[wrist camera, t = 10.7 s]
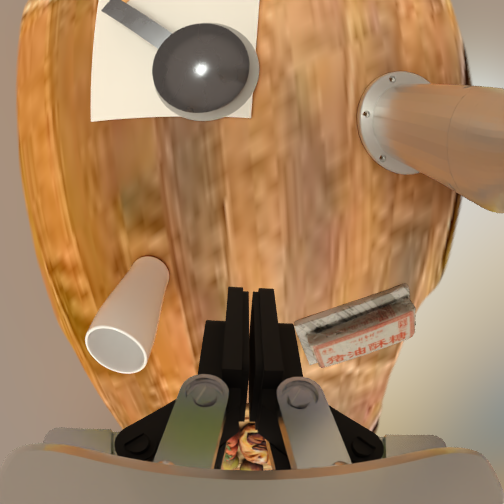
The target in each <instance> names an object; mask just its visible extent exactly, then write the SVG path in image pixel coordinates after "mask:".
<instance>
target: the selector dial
mask: <svg viewBox="0 0 504 504" xmlns="http://www.w3.org/2000/svg"><path fill="white" fill-rule="evenodd" d="M101 11H102V12H104V13H106V14H107V15H109V16H110V17H112V18H113V19H115V20H117V21H118V22H120V23H121V24H123V25H124V26H126V27H127V28H129V29H130V30H132V31H133V32H135V33H136V34H138V35H139V36H140V37H142V38H143V39H145V40H146V41H148V42H149V43H150V44H152V45H153V46H155V47H156V48H157V49H158V50H157V53H156V55H155V57H154V61H153V66H152V76H153V81H154V85H155V87H156V89H157V91H158V93H159V94H160V96H161V97H162V98H163V99H164V100H165V101H166V102H167V103H168V104H170V105H171V106H173V107H175V108H177V109H179V110H182V111H185V112H190V113H205V112H210V111H214V110H217V109H220V108H223V107H225V106H227V105H228V104H230V103H231V102H233V101H234V100H235V99H236V98H237V97H238V96H239V95H240V94H241V92H242V91H243V89H244V87H245V85H246V83H247V80H248V76H249V64H250V63H249V56H248V52H247V50H246V48H245V46H244V44H243V42H242V41H241V40H240V39H239V37H238V36H237V35H235V34H234V33H233V32H232V31H230V30H228V29H226V28H224V27H222V26H219V25H215V24H210V23H198V24H192V25H189V26H185V27H183V28H181V29H179V30H177V31H175V32H174V33H171V32H169V31H168V30H167V29H165V28H164V27H162V26H161V25H159V24H158V23H156V22H155V21H153V20H152V19H150V18H149V17H147V16H146V15H144V14H143V13H141V12H140V11H138V10H136V9H135V8H133V7H132V6H130V5H128V4H127V3H125V2H123V1H122V0H110V1H109V2H108V3H107V4H106V5H105V7H104V8H103V9H102V10H101Z"/></svg>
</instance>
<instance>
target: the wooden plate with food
mask: <svg viewBox="0 0 504 504" xmlns="http://www.w3.org/2000/svg"><path fill="white" fill-rule="evenodd" d="M237 467H240V470H250V471H263V469H267V468H272V467H271V463H270V458H269V454H268V450H267V446H266V439H265V438H264V437H262V436H261V435H260V434H259V433H257V430H255V422H249V404H246V411H245V421H244V422H239V432H238V433H237V434H236V435H234V436H233V437H232V438H230V439H229V440H228V445H227V450H226V454H225V458H224V463H223V467H222V470H234V469H236V468H237Z"/></svg>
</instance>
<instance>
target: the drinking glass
mask: <svg viewBox="0 0 504 504" xmlns="http://www.w3.org/2000/svg"><path fill="white" fill-rule="evenodd" d="M168 282H169V271H168V269H167V267H166V265H165V264H164V263H163V262H162V261H161V260H159V259H157V258H155V257H151V256H144V257H141V258H139V259H137V260H136V261H135V262H134V263H133V265H132V266H131V268H130V270H129V271H128V272H127V273H126V275H125V276H124V277H123V279H122V280H121V281H120V282H119V284H118V285H117V286H116V288H115V289H114V290H113V291H112V293H111V294H110V295H109V297H108V298H107V299H106V301H105V302H104V303H103V305H102V306H101V308H100V309H99V311H98V312H97V314H96V316H95V317H94V319H93V321H92V323H91V325H90V327H89V330H88V332H87V334H86V337H85V343H86V347H87V349H88V351H89V353H90V354H91V355H92V357H93V358H94V359H95V360H96V361H97V362H99V363H100V364H101V365H103V366H104V367H106V368H108V369H110V370H113V371H116V372H119V373H127V374H129V373H136V372H139V371H141V370H142V369H143V368H144V367H145V366H146V364H147V361H148V358H149V356H150V353H151V350H152V347H153V344H154V341H155V337H156V333H157V329H158V324H159V319H160V314H161V309H162V305H163V300H164V296H165V291H166V288H167V285H168Z"/></svg>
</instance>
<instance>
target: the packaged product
mask: <svg viewBox="0 0 504 504" xmlns="http://www.w3.org/2000/svg"><path fill="white" fill-rule="evenodd" d="M415 309H416V308H415V306H414V305H413V303H412V302H411V301H410V296H409V288H408V285H407V284H405V283H404V284H402V285H399V286H397V287H394V288H391V289H389V290H386V291H383V292H380V293H377V294H374V295H371V296H368V297H365V298H362V299H359V300H356V301H353V302H350V303H347V304H344V305H341V306H338V307H335V308H332V309H329V310H326V311H323V312H320V313H318V314H315V315H312V316H309V317H306V318H303V319H300V320H297V321H295V324H294V327H295V329H296V332H297V334H298V337H299V339H300V342H301V345H302V347H303V350H304V352H305V355H306V357H307V359H308V361H309V364H310V365H312V364H315V363H318V364H319V366H320V367H321V368H323V367H328V366H331V365H334V364H338V363H341V362H344V361H347V360H350V359H353V358H356V357H359V356H362V355H365V354H368V353H371V352H373V351H377V350H380V349H383V348H385V347H388V346H390V345H393V344H396V343H399V342H401V341H404V340H406V339H409V338H411V337H412V336H413V334H414V332H415V325H416V323H415Z"/></svg>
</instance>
